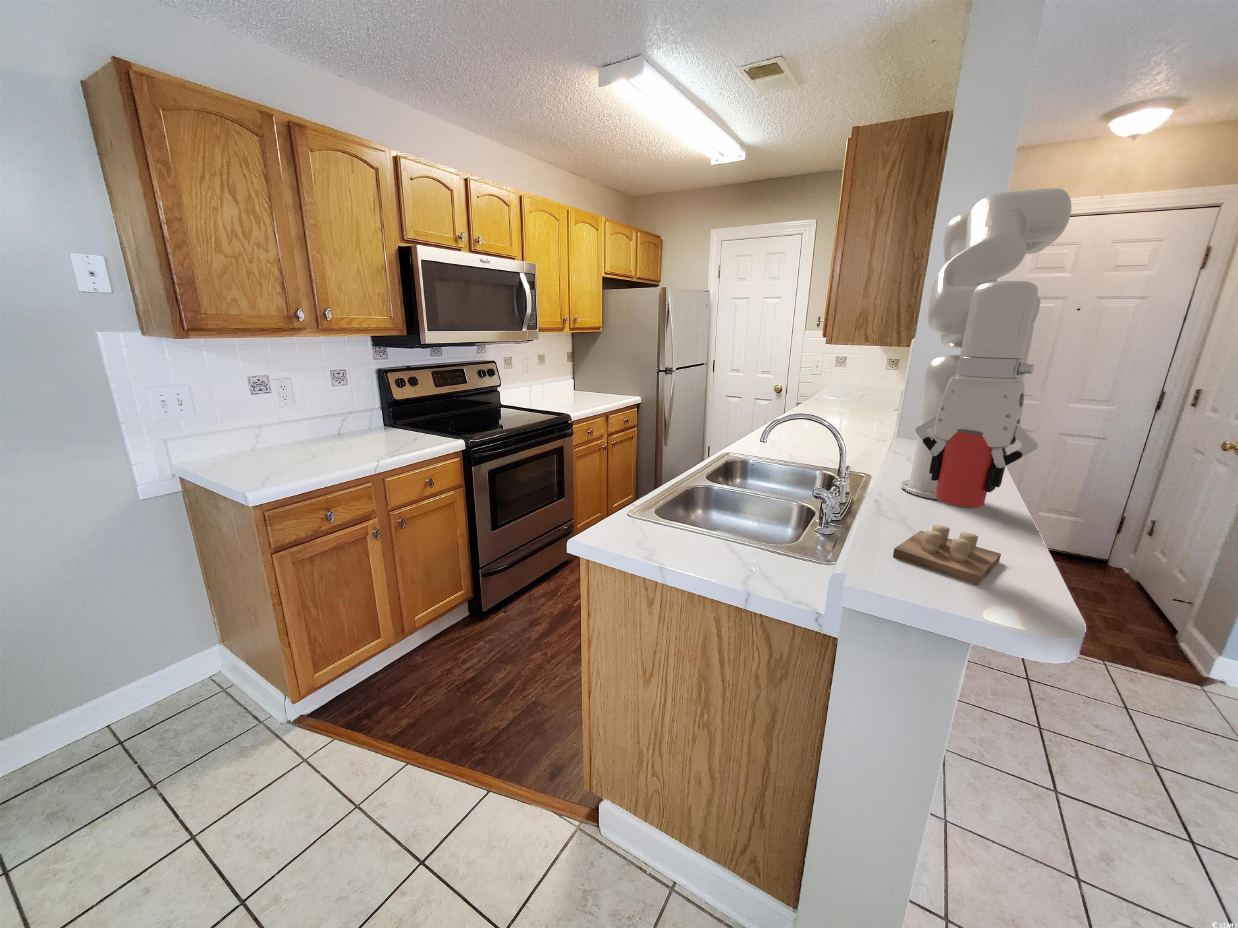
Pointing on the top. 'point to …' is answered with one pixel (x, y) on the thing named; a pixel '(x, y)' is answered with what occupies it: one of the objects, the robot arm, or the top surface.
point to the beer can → (964, 470)
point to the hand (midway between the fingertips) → (962, 483)
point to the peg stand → (948, 554)
